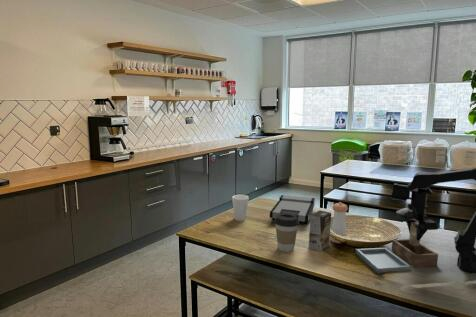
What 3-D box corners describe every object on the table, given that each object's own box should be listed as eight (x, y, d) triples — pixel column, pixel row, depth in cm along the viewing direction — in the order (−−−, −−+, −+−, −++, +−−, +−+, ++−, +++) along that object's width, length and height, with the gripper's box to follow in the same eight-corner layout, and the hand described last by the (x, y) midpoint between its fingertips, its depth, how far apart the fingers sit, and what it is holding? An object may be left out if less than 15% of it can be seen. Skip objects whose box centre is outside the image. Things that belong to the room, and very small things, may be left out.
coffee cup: (299, 244, 161) (300, 214, 159) (297, 255, 150) (298, 222, 148) (275, 242, 164) (276, 211, 162) (271, 251, 153) (272, 219, 151)
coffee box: (321, 251, 154) (322, 217, 151) (308, 247, 158) (309, 214, 155) (329, 245, 161) (331, 212, 158) (317, 241, 165) (318, 209, 162)
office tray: (269, 223, 190) (269, 209, 188) (281, 207, 219) (281, 195, 218) (307, 228, 183) (308, 213, 182) (314, 210, 213) (314, 198, 212)
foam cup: (229, 217, 198) (229, 195, 196) (243, 215, 202) (244, 194, 200) (236, 222, 190) (236, 200, 188) (251, 220, 194) (251, 198, 192)
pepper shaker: (327, 240, 167) (329, 202, 164) (335, 236, 172) (337, 199, 169) (341, 244, 162) (343, 205, 159) (348, 240, 167) (351, 202, 164)
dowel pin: (421, 245, 144) (423, 225, 142) (412, 246, 143) (415, 225, 142) (415, 241, 148) (417, 221, 146) (406, 242, 147) (408, 222, 146)
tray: (410, 272, 136) (411, 266, 135) (377, 274, 134) (378, 268, 133) (385, 252, 153) (385, 247, 153) (355, 254, 151) (356, 249, 151)
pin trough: (436, 268, 140) (438, 254, 139) (414, 269, 138) (415, 255, 137) (411, 251, 155) (413, 238, 154) (391, 252, 154) (392, 239, 153)
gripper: (387, 197, 151) (384, 230, 153) (415, 210, 132) (411, 248, 135) (411, 196, 152) (407, 229, 155) (441, 209, 134) (437, 247, 136)
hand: (414, 238), depth 145 cm, fingers closed on dowel pin, 4 cm apart
